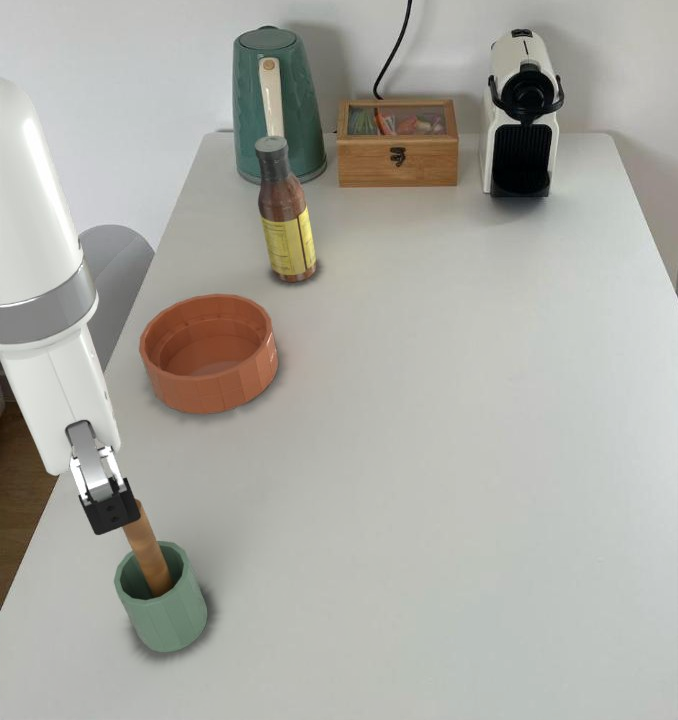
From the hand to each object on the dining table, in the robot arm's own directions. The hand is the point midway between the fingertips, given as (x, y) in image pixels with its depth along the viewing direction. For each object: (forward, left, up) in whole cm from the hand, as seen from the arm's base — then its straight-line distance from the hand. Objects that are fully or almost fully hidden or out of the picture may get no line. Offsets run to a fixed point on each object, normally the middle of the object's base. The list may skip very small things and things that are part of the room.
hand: (102, 476), depth 60 cm
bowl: (+14, +30, -21) cm, 39 cm away
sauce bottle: (+31, +44, -21) cm, 57 cm away
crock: (0, 0, -21) cm, 21 cm away
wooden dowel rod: (+1, 0, -20) cm, 20 cm away
